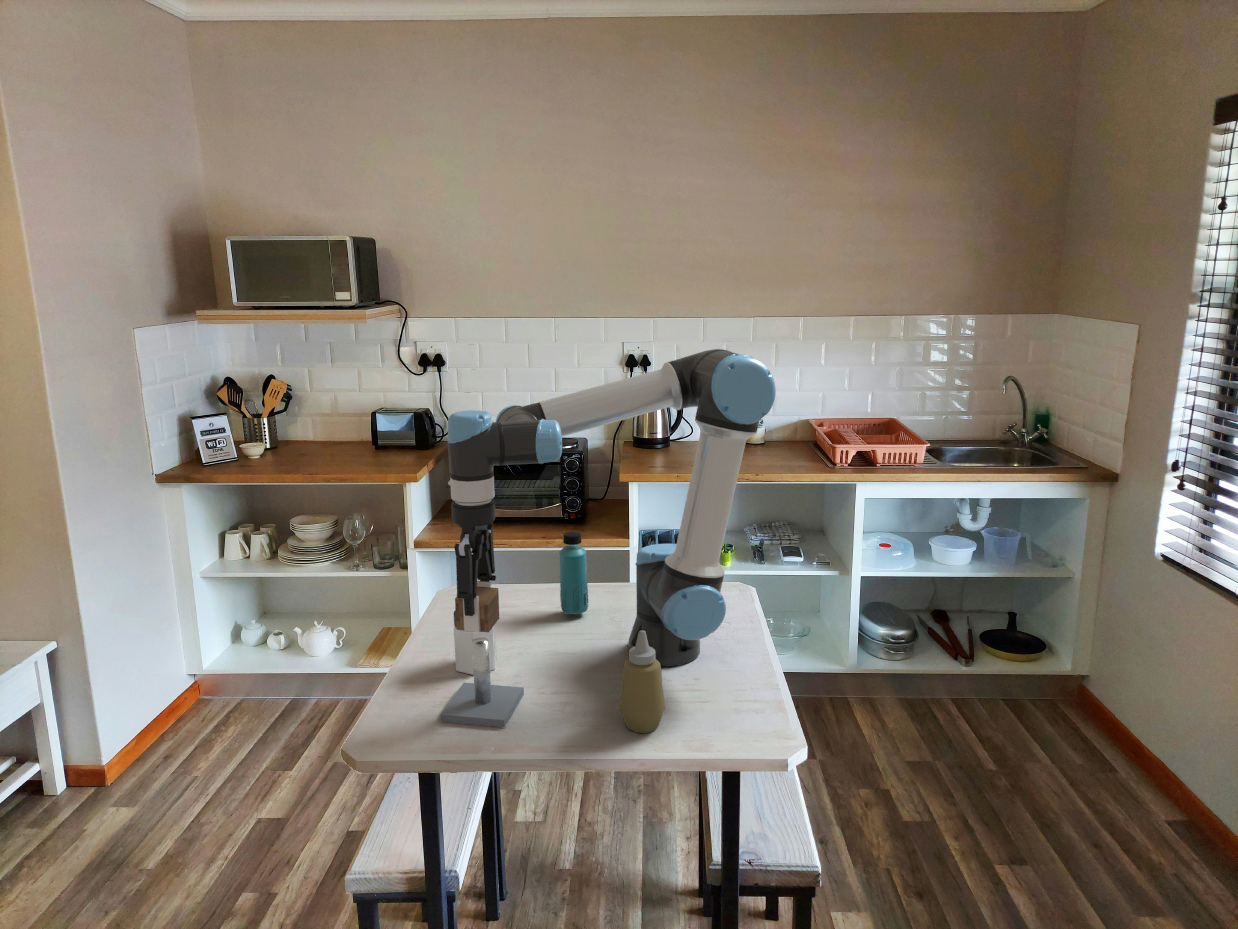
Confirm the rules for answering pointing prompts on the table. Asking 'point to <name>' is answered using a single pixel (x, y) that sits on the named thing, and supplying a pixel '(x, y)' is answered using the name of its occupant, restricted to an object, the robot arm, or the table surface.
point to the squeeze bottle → (642, 688)
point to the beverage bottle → (573, 575)
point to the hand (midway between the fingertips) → (478, 622)
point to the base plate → (482, 706)
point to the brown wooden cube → (481, 609)
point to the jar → (465, 648)
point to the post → (481, 670)
